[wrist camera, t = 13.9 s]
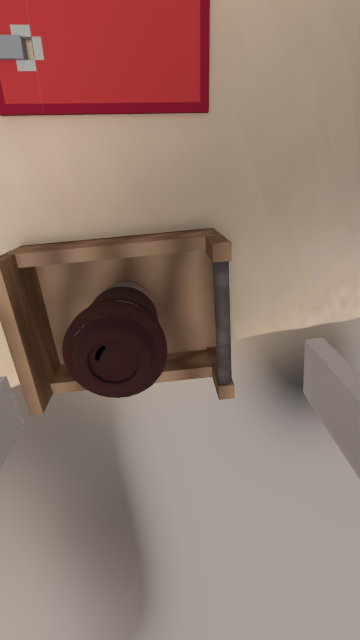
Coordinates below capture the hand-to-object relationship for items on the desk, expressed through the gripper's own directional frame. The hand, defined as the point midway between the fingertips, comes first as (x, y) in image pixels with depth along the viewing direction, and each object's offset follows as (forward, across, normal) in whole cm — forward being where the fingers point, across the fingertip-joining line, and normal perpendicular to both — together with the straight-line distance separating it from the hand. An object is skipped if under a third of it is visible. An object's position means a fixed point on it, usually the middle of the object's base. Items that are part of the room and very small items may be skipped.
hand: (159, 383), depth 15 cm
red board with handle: (+31, +7, -24) cm, 40 cm away
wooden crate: (+30, +6, +6) cm, 31 cm away
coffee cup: (+29, +6, +6) cm, 30 cm away
